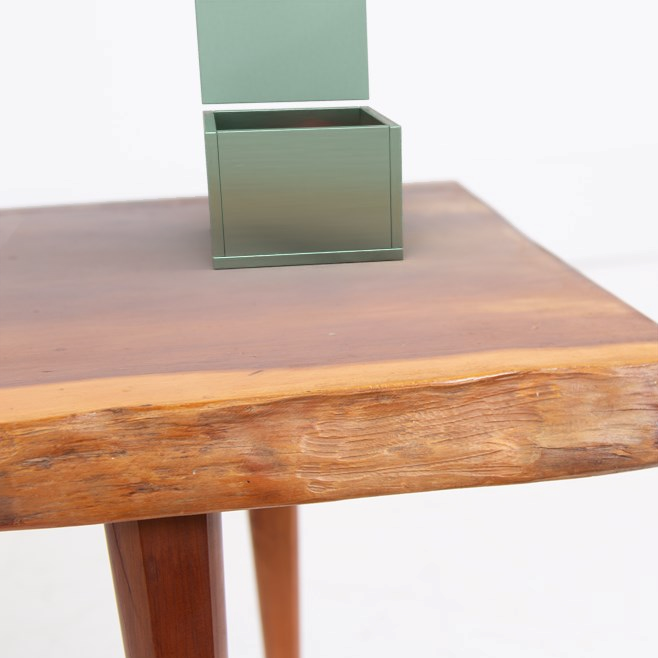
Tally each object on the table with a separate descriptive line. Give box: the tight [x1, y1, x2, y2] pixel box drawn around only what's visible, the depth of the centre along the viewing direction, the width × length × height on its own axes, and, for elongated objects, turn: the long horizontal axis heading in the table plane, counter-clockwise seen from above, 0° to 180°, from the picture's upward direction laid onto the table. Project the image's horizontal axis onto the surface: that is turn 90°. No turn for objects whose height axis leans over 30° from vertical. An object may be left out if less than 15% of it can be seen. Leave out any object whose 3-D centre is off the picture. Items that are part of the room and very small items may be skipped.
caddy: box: [202, 105, 404, 270], centre depth 80 cm, size 15×13×9 cm
